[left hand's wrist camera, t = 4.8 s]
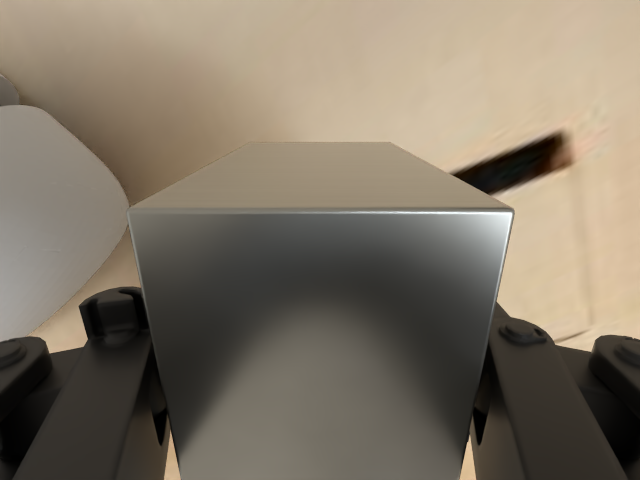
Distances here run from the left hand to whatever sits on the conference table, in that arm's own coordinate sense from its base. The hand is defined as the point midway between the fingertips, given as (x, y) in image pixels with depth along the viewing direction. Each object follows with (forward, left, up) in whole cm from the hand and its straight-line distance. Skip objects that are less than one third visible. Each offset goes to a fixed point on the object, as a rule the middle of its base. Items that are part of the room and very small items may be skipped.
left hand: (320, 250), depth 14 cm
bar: (+7, +2, -1) cm, 8 cm away
